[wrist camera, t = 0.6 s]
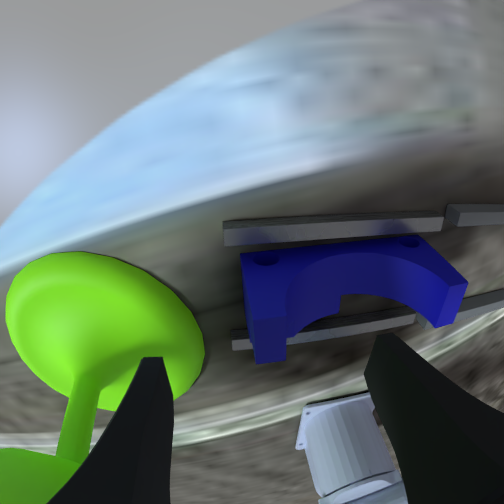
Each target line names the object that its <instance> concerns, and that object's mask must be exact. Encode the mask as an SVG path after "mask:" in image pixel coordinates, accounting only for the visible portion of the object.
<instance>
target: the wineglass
mask: <svg viewBox="0 0 504 504" xmlns="http://www.w3.org/2000/svg"><path fill="white" fill-rule="evenodd" d="M6 323H7V326H8V330H9V334H10V337H11V340H12V342H13V344H14V346H15V348H16V349H17V351H18V353H19V355H20V356H21V358H22V360H23V361H24V362H25V363H26V364H27V365H28V367H29V368H30V369H31V370H32V371H33V372H34V373H35V374H36V375H37V376H38V377H39V378H40V379H41V380H43V381H44V382H45V383H46V384H48V385H49V386H50V387H52V388H53V389H54V390H56V391H58V392H60V393H61V394H63V395H65V396H67V397H69V402H68V405H67V409H66V413H65V417H64V421H63V425H62V429H61V433H60V438H59V442H58V447H57V451H56V456H52V455H47V454H42V453H38V452H33V451H29V450H25V449H16V448H5V449H0V504H46V503H47V502H48V501H49V500H50V499H51V498H52V497H53V496H54V495H55V494H56V493H57V492H58V491H59V490H60V489H61V488H62V487H63V486H64V485H65V484H66V482H67V481H68V480H69V479H70V478H71V477H72V475H73V474H74V473H75V472H76V470H77V469H78V468H79V467H80V465H81V464H82V463H83V462H84V460H85V459H86V457H87V456H88V455H89V449H90V443H91V437H92V431H93V426H94V420H95V415H96V410H97V408H101V409H105V410H111V411H116V410H117V408H118V406H119V404H120V403H121V401H122V399H123V397H124V395H125V393H126V391H127V389H128V387H129V385H130V383H131V381H132V379H133V377H134V375H135V373H136V370H137V368H138V366H139V363H140V361H141V359H142V358H143V357H163V360H164V364H165V368H166V371H167V375H168V379H169V382H170V385H171V389H172V392H173V401H174V400H175V399H177V398H178V397H179V396H181V395H182V394H184V393H185V392H186V391H188V390H189V388H190V387H191V385H192V384H193V383H194V381H195V380H196V379H197V377H198V376H199V374H200V372H201V368H202V364H203V360H204V356H205V350H204V343H203V336H202V332H201V330H200V328H199V326H198V324H197V322H196V320H195V318H194V316H193V314H192V312H191V311H190V310H189V309H188V308H187V307H186V305H185V304H184V303H183V302H182V301H181V300H180V299H179V298H178V297H177V296H176V295H175V293H174V292H173V291H172V290H171V289H169V288H168V287H167V286H165V285H164V284H162V283H161V282H159V281H158V280H156V279H155V278H154V277H152V276H151V275H149V274H148V273H146V272H145V271H143V270H141V269H139V268H136V267H134V266H131V265H129V264H127V263H124V262H122V261H120V260H117V259H115V258H113V257H108V256H102V255H97V254H92V253H86V252H81V251H78V252H64V253H52V254H49V255H47V256H44V257H42V258H39V259H37V260H34V261H32V262H30V263H29V264H27V265H26V266H25V267H24V268H23V269H22V270H21V271H20V272H19V273H18V274H17V275H16V276H15V277H14V280H13V282H12V284H11V287H10V289H9V291H8V294H7V297H6Z"/></svg>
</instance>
